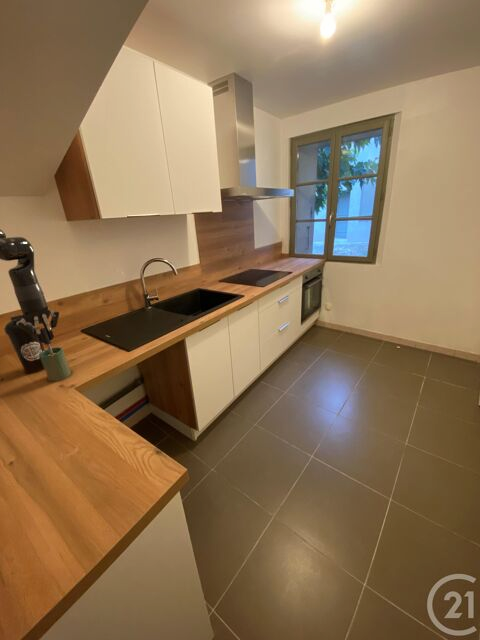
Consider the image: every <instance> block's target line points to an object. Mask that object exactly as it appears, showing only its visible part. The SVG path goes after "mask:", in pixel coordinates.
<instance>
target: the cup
mask: <svg viewBox="0 0 480 640" xmlns="http://www.w3.org/2000/svg"><path fill="white" fill-rule="evenodd" d="M51 349H52V351H53V353H55V354H52V355H49V354H50V353H49V350H48V348H47V349H44V351H42V352H41V353H40V354H39V357H40V359H41V362H42V364H43V367H44V369H43V370H44V372H45V375H46V378H47V380H48V381H49V382H59V381H62V380H65V379H67V378H68V377H69V376H71V374H72V371H71V367H70V365H69V362H68V360H67V357H66V354H65V351H64V348H63V347H61V346H53V347H51Z"/></svg>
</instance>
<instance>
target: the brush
mask: <svg viewBox="0 0 480 640" xmlns="http://www.w3.org/2000/svg"><path fill="white" fill-rule="evenodd" d="M40 332H41V334H42V336H43V338H44V341H45V343H43V344H44V345H46V347H47V349H48V350H49V353H50V354H49V355H52V354H55V353H53V351H52V349H51V348H52V346H51V344H52V340H50V337H49V335H48V332H47V329H46V328H45V327H40Z"/></svg>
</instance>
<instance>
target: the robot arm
mask: <svg viewBox="0 0 480 640" xmlns="http://www.w3.org/2000/svg"><path fill="white" fill-rule="evenodd" d="M1 260H2V261H4V262H10V261H17V264H16V265H15V266H13V267H11V268H10V269H8V270H7V271H8V272H7V273H8V276H9V279H10V281H11V284H12V287H13V291H14V295H15V297H16V300H17V303H18V305H19V307H20V311H21V312H22V318H23V319H21V320H20V321H19V322H16V325H18V326H19V327H21V328H22V329H23V330H25V331H26V332H27V333H29V334H31V335H33V334H35V335H36V337H37V340H38V341H39V342H41V343H42V344H44V343H45V341H44V338H43V336H42V334H41V332H40V329H41V326H40V325H41V324H42V325H43V328H46V329H47V332H48V335H49V337H50V340H51V341H52V340H54V337H55V336H54V333H53V329H54V328H57V325H58V321H59V317H60V312H59V311H56V310H51V309H50V308H49V305H48V303H47V300H46V298H45V295H44V294H45V293H44V291H43V289H42V287H41V285H40V282H39V279H38V276H37V275H36V271H35V250H34V247H33V245H32V243H31V242H30V241H29V240H28V239H27V238H25V237H22V236H13V237H7V234H6V233H5V232H4V230H2V229H1V228H0V261H1ZM50 317H51V318H50ZM49 318H50V321H49ZM25 321H27V322H29V323H31V324H32V327H33V330H31V329H29V328H28V327H27V326H25V325H26V323H25Z"/></svg>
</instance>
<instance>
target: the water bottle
mask: <svg viewBox="0 0 480 640" xmlns="http://www.w3.org/2000/svg"><path fill="white" fill-rule="evenodd" d="M22 316H23V314H19V315H14V316H11V317H10V321H9V322H7V323H6V324H5V326H4V328H3V330H4V333H5V334H6V336H8V338H9V341H10V343H11V345H12V347H13V349H14V351H15V353H16V355H17V358H18V359H19V362H20V364H21V366H22V368H23V370H24V372H25V373H26V374H34V373H38V372H41V371H43V370H44V367H43V364H42V362H41V359H40V357H39V354H40V353H41V352H42V351H44V350H45V346H44V345H43V344H44V343H41V342H39V341H38V340H37V337H36V335H35V334H33V335H31V334H29V333H27V332H26V331H25V330H23V329H22V328H21V327H19V326H18V325H16V322H19V321H20V320H21V319H23V318H22ZM25 323H26V325H25V326H27V327H28V328H29V329H31V330H33V327H32V324H31V323H29V322H27V321H25Z"/></svg>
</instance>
